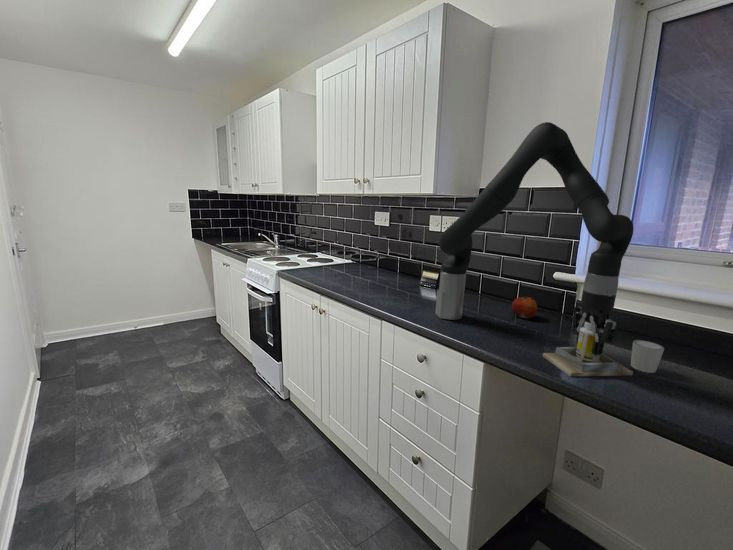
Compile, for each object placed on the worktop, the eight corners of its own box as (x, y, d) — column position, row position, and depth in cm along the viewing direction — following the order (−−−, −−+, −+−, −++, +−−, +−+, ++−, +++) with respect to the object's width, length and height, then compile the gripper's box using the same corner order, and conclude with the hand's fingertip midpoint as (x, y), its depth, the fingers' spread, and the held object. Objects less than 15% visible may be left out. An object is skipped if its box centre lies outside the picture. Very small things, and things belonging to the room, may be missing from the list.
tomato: (538, 321, 135) (541, 301, 133) (512, 319, 136) (515, 299, 135) (532, 314, 144) (535, 295, 142) (508, 311, 145) (511, 292, 144)
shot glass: (622, 362, 103) (626, 339, 101) (644, 362, 103) (649, 339, 102) (641, 373, 96) (647, 349, 94) (665, 374, 97) (671, 349, 95)
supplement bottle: (603, 360, 98) (610, 325, 96) (590, 363, 96) (597, 327, 93) (583, 352, 103) (589, 318, 101) (570, 355, 100) (577, 320, 98)
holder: (569, 376, 93) (571, 365, 92) (542, 356, 104) (544, 346, 104) (632, 375, 95) (634, 364, 94) (598, 355, 107) (600, 346, 106)
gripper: (568, 283, 102) (559, 339, 105) (607, 297, 88) (594, 361, 91) (592, 284, 102) (582, 339, 106) (635, 298, 89) (621, 361, 92)
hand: (588, 349), depth 99 cm, fingers closed on supplement bottle, 5 cm apart
